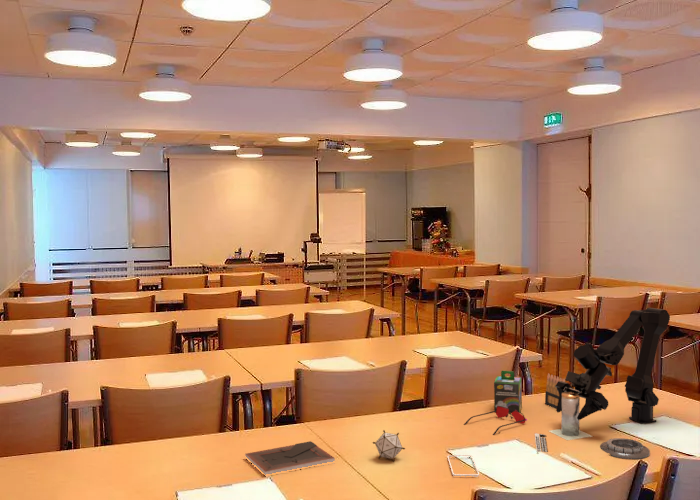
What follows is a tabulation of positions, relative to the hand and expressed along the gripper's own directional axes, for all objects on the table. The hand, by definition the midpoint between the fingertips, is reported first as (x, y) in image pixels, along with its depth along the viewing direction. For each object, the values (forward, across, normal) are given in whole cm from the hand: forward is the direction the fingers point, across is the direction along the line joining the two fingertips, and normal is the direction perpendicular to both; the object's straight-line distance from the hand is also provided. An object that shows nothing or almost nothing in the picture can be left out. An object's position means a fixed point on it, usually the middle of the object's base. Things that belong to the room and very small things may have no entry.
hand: (567, 415), depth 224 cm
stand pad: (+4, 0, +6) cm, 7 cm away
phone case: (+38, +6, -27) cm, 47 cm away
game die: (+48, -10, -38) cm, 62 cm away
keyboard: (+14, +3, -3) cm, 14 cm away
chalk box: (+3, -32, +7) cm, 33 cm away
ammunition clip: (-9, -26, +19) cm, 33 cm away
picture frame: (+68, -22, -56) cm, 91 cm away
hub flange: (+1, +19, +8) cm, 20 cm away
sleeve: (+3, 0, +5) cm, 6 cm away
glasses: (+15, -20, -4) cm, 25 cm away
